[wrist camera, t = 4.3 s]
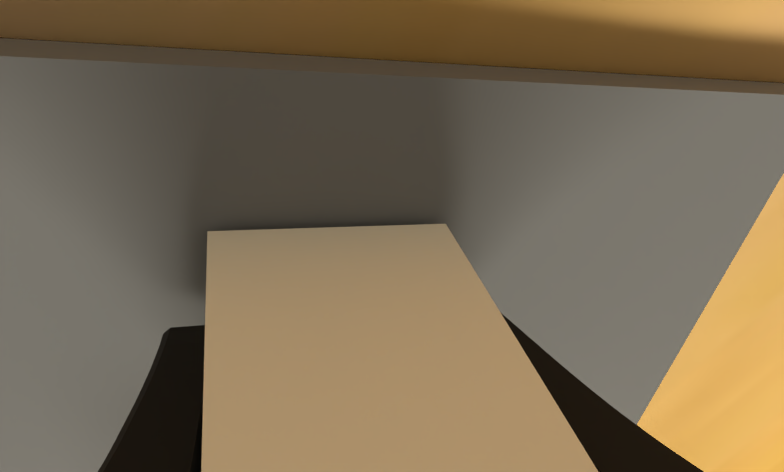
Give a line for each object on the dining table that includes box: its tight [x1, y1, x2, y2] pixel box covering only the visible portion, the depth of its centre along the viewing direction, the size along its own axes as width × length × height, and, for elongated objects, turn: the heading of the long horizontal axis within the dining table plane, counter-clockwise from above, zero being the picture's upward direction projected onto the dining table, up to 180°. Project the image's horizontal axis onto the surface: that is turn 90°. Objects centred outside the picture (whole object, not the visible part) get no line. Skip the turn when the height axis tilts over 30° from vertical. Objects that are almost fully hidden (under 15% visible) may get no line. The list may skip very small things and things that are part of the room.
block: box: [201, 224, 598, 472], centre depth 9 cm, size 4×5×5 cm
